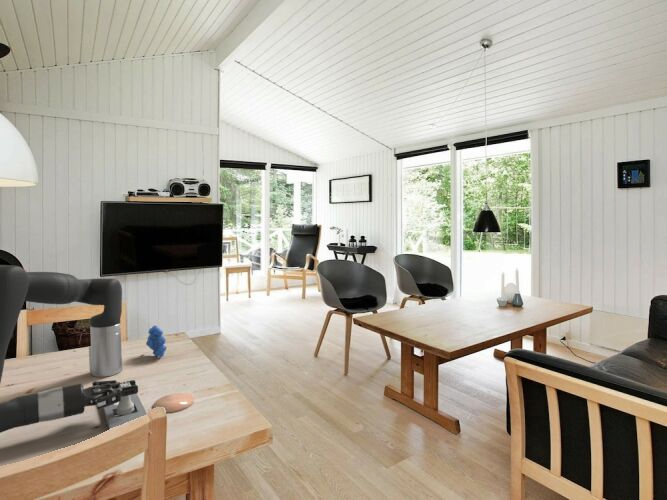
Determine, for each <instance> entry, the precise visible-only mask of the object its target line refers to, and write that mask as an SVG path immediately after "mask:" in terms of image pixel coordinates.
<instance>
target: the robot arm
mask: <svg viewBox="0 0 667 500" xmlns="http://www.w3.org/2000/svg"><path fill="white" fill-rule="evenodd" d="M122 300H123V288H122V284H121V282H120V281H119V280H118V279H117V278H89V279H87V278H86V279H85V278H83V279H80V278H79V279H78V278H77V277H76V276H75V275H72V274H68V273H62V272H56V271H55V272H54V271H27V270H26V269H24V268H22V267H21V266H19V265H9V264H0V384H1V383H2V378H3V373H4V366H5V359H6V356H7V350H8V346H9V344H10V341H11V339H12V335H13V332H14V330H15V328H16V325H17V323H18V320H19V317H20V314H21V311H22V309H23V306H24V303H25V302H29V303H35V304H44V305H45V304H46V305H68V304H71V303H73V302H74V303H80V304H86V305H89V306H103V312H101V313H98V314H95V315H93V316H91V317H90V319H89V329H90V331H89V332H90V346H89V347H88V359H89V363H88V364H89V374H90V375H92V376H93V377H98V378H104V377H105V378H106V377H110V376H115V375H117V374H119V373H121V372H122V371H123V354H122V350H123V349H122V330H121V329H122V328H121V327H122V325H121V316H122V312H123V311H122V309H123V307H122V306H123V304H122V303H123V301H122ZM125 382H127V383H128V382H129V383H130V385H131V386H128V387H124V388H118V387H119V384H121V383H123V384H125ZM91 384H92V386H89V387H86V388H84V385H83V383H81V382H80V383H76V384H71V385H65V386H60V387H54V388H51V389H47V390H43V391H40V392H36V393H31V394H24V395H20V396H17V397H14V398H12V399H10V400H8V401H5V402H0V433H3V432H6V431H9V430H12V429H15V428H19V427H25V426H31V425H35V424H38V423H42V422H50V421H55V420H60V419H64V418H68V417H72V416H77V415H81V414H82V415H83V414H84V413H85V408H86V407H92V406H93V407H94V406H96V409H97V410H101V409H102V410H103V408H104V407H107V406H110V405H112V404H115V403H117V402H120V401H121V398H123V397H124V396H128V395H132V394H137V395H138V393H139V386H138V385H137V384H136V380H134V379H132V380H126V381H123V382H122V381H121V382H120V381H117V380H116V379H113V380H101V381H93V382H92V383H91Z"/></svg>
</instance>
